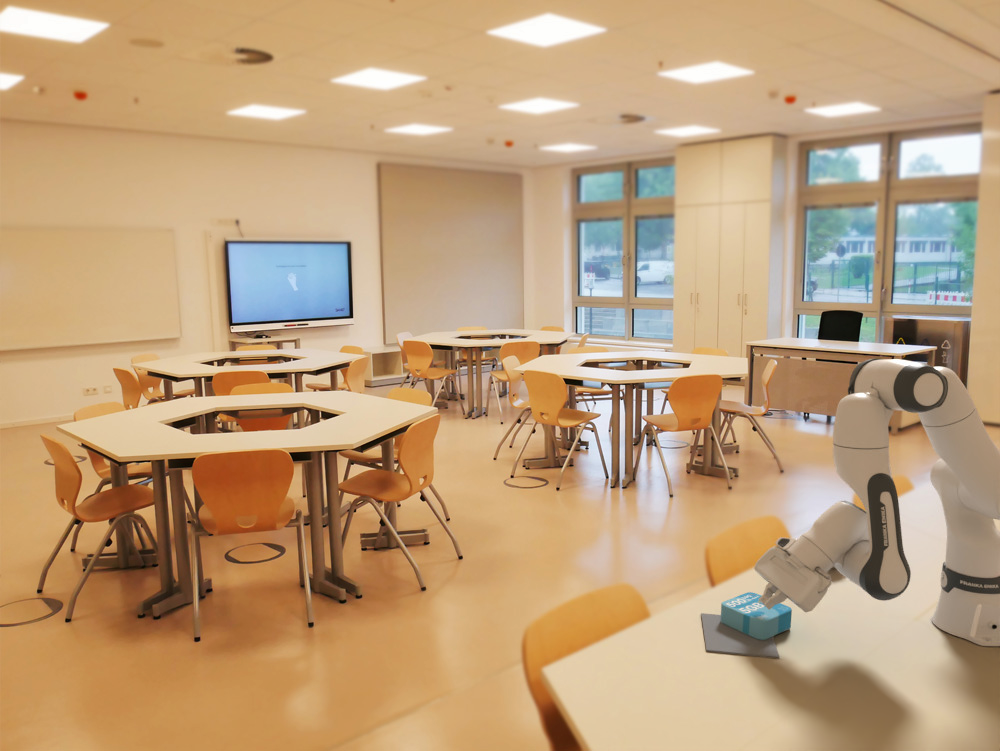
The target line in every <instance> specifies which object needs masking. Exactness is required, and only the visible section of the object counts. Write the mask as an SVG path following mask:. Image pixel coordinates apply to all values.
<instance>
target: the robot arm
mask: <svg viewBox="0 0 1000 751" xmlns="http://www.w3.org/2000/svg"><path fill="white" fill-rule="evenodd" d="M848 383H849V384H848V387H847V395H846V396H844V397H842V398H841V399H840V400H839V402H838V403H837V407H836V412H835V418H834V423H833V431H832V458H833V464H834V467H835V471H836V474H837V475H838V476H839V478H840V479H841V480H842V481H843V482H844V483H845V484H846V485H847V486H848V487H849V488H850V489H851V490H852V491H853V493H855V494H856V496H857V497H858V499H859V500H860V501H861V503H862V505H863V507H864V509H863V508H862V507H860V506H857V505H856V504H855V503H852V502H850V501H847V500H840V501H836V502H835V503H834V504H832V505H831V506H830V507H829V508H827V509H826V510H825V511H824V512H823V513H821V515H820V516H819V517H818V518H817V519H815V521H814V522H813V524H812V526H811V527H810V529H809V530H807V531H805V532H804V533H802V534H801V535H800V536H799V537H798V538H796V537H795V538H790V537H782V536H781V537H779V538H777V540H776V541H775V545H774V546H772V547H770V548H768V549H767V550H766V551H765V552H764V553H763V554H762V556H760V558H759V559H758V560H757V561H756V562H755V564H754V571H755V572H756V573H757V574H758V575H759V576H760V577H761V578H762V579H763V580H765V581H766V582H767V584H766V586H765V588H764V590H763V594H762V595H761V597H760V598H759V601H760V602H761V603H762V604H763V605H764V606H765V607H766V608H767V609H771V608H772V607H773V606H774V605H776V604H779V603H781V604H782V603H784V602H785V601H786V600H787V599H788V600H789V601H790V602H792V603H793V604H795V605H796V606H797V607H798V608H799V609H801V610H802V611H803V612H804V613H809V612H812V611H813V610H814V609H815V608H816V607H817V606H818V604H819V603H820V602H821V601H822V600H823V598H824V597H825V596H826V594H827V592H828V591H829V590H828V589H829V588H830V587H831V585H832V576H831V574H830V573H828V572H829V571H830V570H831V569H833V568H835V569H836V570H837V571H838V573H840V575H842V576H844V577H845V578H846V579H848V580H849V581H850V582H851V583H854V584H855V585H857V586H858V587H859V588H861V589H862V590H864V592H866V593H867V595H869V596H871V597H872V598H873V599H874V600H879V601H883V602H884V601H891V600H893V599H896V598H898V597H900V596H901V595H902V594H903V593H904V592H905V591H906V590H907V588H908V586H909V584H910V582H911V577H912V576H911V573H912V572H911V567H910V564H909V562H908V559H907V557H906V554H905V551H904V546H903V545H904V544H903V536H902V524H901V512H900V505H899V496H898V493H897V487H896V483H895V481H894V477H893V473H892V470H891V463H890V462H891V461H890V438H889V437H890V436H889V433H890V432H889V423H890V421H891V419H892V417H893V415H894V413H895V412H894V411H900V412H907V413H913V414H916V413H917V415H918V418H919V421H920V423H921V424H922V427H923V429H924V432H925V434H926V436H927V438H928V440H929V442H930V444H931V447H932V449H933V451H934V452H935V455H937V456H938V457H939V459H937V461H935V462H934V464H933V465H932V467H931V470H930V483H931V485H932V487H933V488H934V489H935V491H936V493H937V494H938V496H939V500H940V503H941V507H942V511H943V515H944V520H945V521H944V522H945V527H946V545H945V556H944V557H945V560H944V562H943V563H942V567H941V573H940V588H941V590H940V593H939V598H938V601H937V605H936V608H935V610H934V612H933V613H932V614H933V615H932V616H931V622H932V623H933V625H934V626H936V627H937V628H938V629H940V630H941V631H944V632H946V633H948V634H949V635H953V636H956V637H959V638H961V639H965V640H967V641H970V642H971V643H974V644H975V645H978V646H982V647H1000V530H999V529H998V527H997V525H996V523H995V520H998V521H1000V449H999V447H998V446H997V445H996V443H995V442H994V441H993V439H992V437H991V436H990V434H989V433H988V430H987V429H986V427H985V424H984V422H983V420H982V418H981V416H980V414H979V412H978V410H977V408H976V405H975V402H974V400H973V398H972V396H971V394H970V393H969V391H968V389H967V388H966V386H965V385H964V383H963V382H962V380H961V378H960V377H959V376H958V375H957V373H956V372H955V371H954V370H952V369H951V368H949V367H945V366H940V365H939V366H938V365H937V366H932V365H929V364H927V363H925V362H919V361H917V362H915V361H912V360H908V359H900V358H893V359H891V358H889V359H888V358H887V359H886V358H885V359H884V358H878V357H877V358H871V359H866V360H864V361H862V362H860V363H858V364H857V365H856V366H855V367H854V369H853V370H852V372H851V374H850V378H849V382H848ZM833 566H835V567H833ZM832 567H833V568H832Z"/></svg>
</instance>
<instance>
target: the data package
mask: <svg viewBox="0 0 1000 751" xmlns="http://www.w3.org/2000/svg"><path fill="white" fill-rule="evenodd" d="M761 596H762V595H761V594H758V593H757V592H753V591H752V592H751V591H749V592H744V593H743V594H739V595H738V596H735V597H732V598H730V599H727V600H725V601H724V600H723V601H722V602H721V606H720V607H721V608H720V615H721V622H722V623H723V624H725V625H727V626H729V627H731V628H734V629H736V630H738V631H740V632H742V633H745V634H747V635H749V636H751V637H753V638H755V639H758V640H766V639H768V638H770V637H772V636H773V637H775V636H777V635H778V634H782V633H783V632H785V631H788V630H790V629H791V626H792V613H793V612H792V611H793V610H792V608H791V607H790V606H788V605H785V604H783V603H782V602H781V603H779V604H776V605H774V606H773V607H772V608H771V609H767V608H766V607H765V606H764V605H763V604H762V603H761V602H760V601H759V598H760V597H761Z"/></svg>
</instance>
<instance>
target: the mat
mask: <svg viewBox="0 0 1000 751" xmlns="http://www.w3.org/2000/svg"><path fill="white" fill-rule="evenodd" d="M700 617H701V623H702V629H703V638H704V643H705V651H706V652H708V653H709V652H710V653H720V654H729V655H730V654H731V655H738V656H749V657H761V658H770V659H781V658H780V655H779V652H778V651H779V650H778V649H777V645H776V641H775V639H774V636H772V637H770V638H768V639H766V640H758V639H755V638H753V637H751V636H749V635H747V634H745V633H742V632H740V631H738V630H736V629H734V628H731V627H729V626H727V625H725V624H723V623H722V622H721V614H712V613H704V612H701V614H700Z"/></svg>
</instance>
